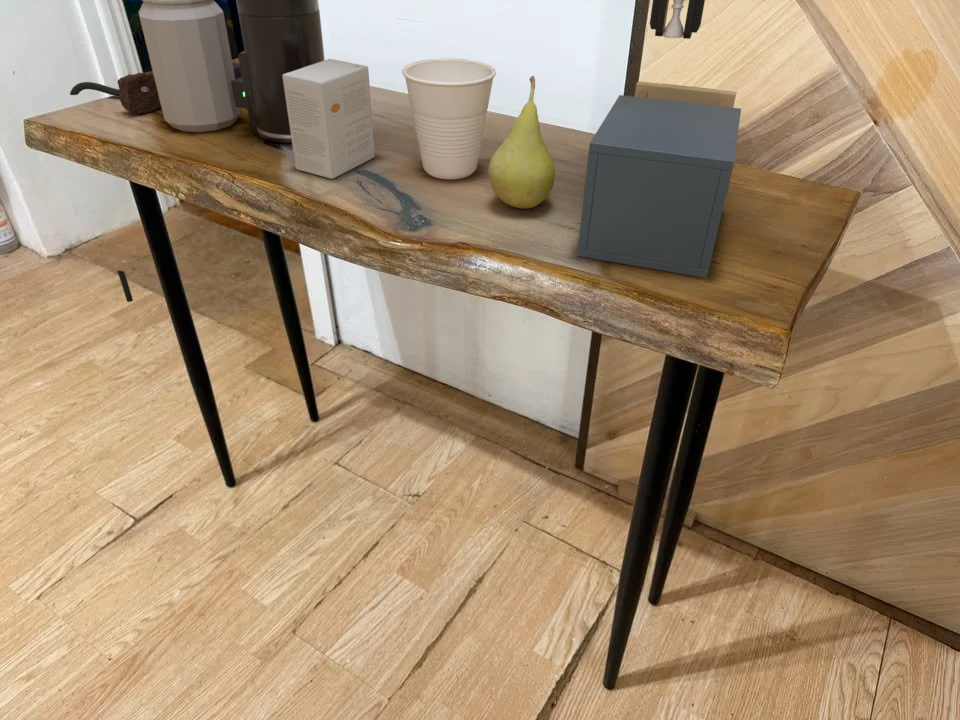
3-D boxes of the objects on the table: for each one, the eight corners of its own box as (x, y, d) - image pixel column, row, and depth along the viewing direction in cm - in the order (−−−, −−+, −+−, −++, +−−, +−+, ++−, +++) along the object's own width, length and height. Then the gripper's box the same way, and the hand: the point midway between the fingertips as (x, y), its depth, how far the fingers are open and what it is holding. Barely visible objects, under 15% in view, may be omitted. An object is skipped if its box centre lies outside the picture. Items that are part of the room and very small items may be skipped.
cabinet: (606, 195, 76) (619, 94, 70) (717, 212, 74) (741, 108, 67) (577, 256, 65) (589, 142, 59) (706, 278, 62) (734, 161, 56)
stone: (133, 118, 94) (122, 78, 91) (119, 113, 95) (108, 74, 92) (181, 104, 99) (173, 66, 96) (168, 100, 101) (159, 62, 98)
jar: (180, 139, 88) (142, -25, 77) (153, 119, 94) (114, -36, 83) (255, 124, 93) (228, -32, 82) (225, 106, 99) (196, -42, 88)
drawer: (632, 146, 86) (643, 71, 81) (720, 158, 84) (738, 80, 78) (605, 204, 72) (616, 117, 67) (710, 220, 70) (730, 131, 65)
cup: (483, 191, 77) (486, 86, 70) (395, 182, 78) (390, 79, 72) (500, 158, 85) (503, 61, 78) (419, 151, 86) (416, 55, 80)
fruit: (483, 215, 72) (486, 94, 65) (494, 186, 78) (497, 72, 71) (549, 221, 71) (559, 98, 64) (555, 191, 77) (564, 76, 70)
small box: (339, 149, 86) (330, 57, 80) (376, 158, 84) (369, 64, 78) (293, 169, 81) (280, 73, 74) (332, 180, 78) (321, 81, 72)
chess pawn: (676, 39, 69) (683, -7, 67) (657, 36, 70) (664, -9, 68) (688, 35, 71) (695, -10, 68) (669, 32, 72) (676, -12, 69)
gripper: (619, -186, 59) (597, 38, 69) (796, -186, 56) (745, 50, 66) (633, -184, 65) (610, 23, 75) (793, -183, 61) (747, 33, 72)
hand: (673, 35), depth 70 cm, fingers closed on chess pawn, 2 cm apart
